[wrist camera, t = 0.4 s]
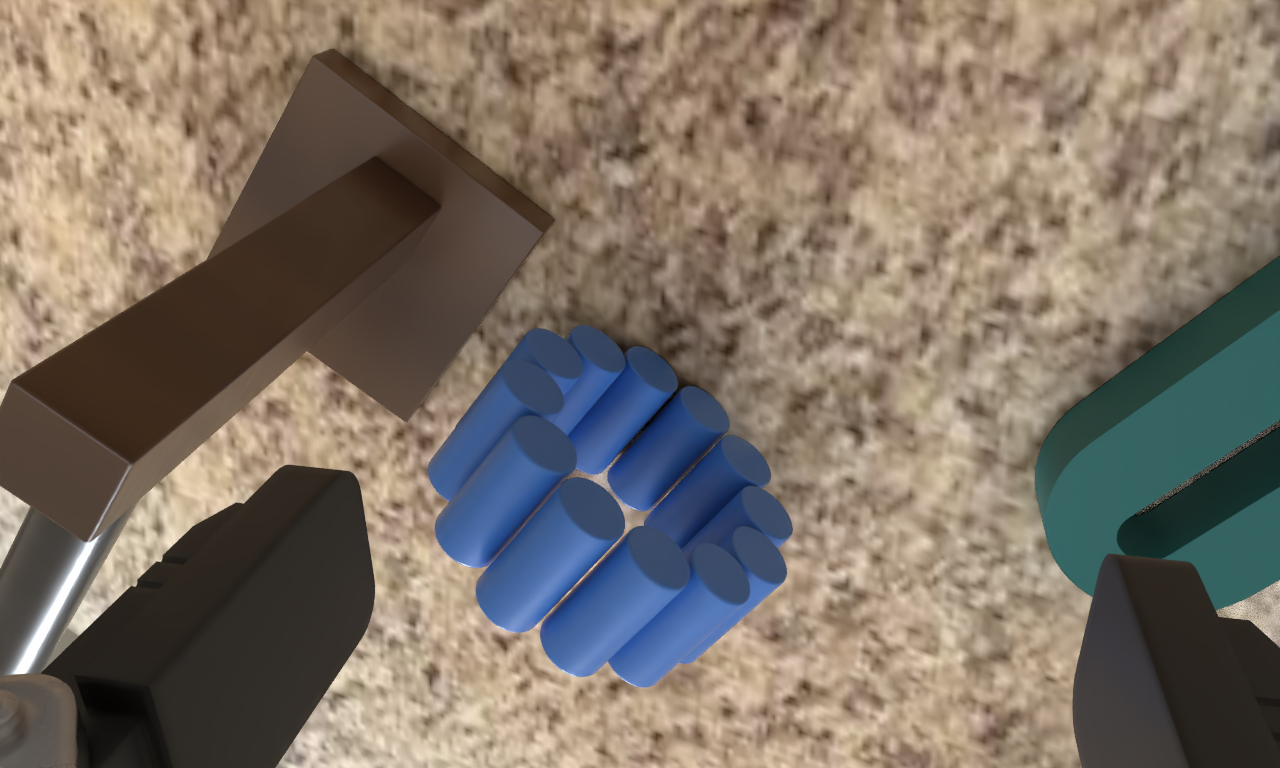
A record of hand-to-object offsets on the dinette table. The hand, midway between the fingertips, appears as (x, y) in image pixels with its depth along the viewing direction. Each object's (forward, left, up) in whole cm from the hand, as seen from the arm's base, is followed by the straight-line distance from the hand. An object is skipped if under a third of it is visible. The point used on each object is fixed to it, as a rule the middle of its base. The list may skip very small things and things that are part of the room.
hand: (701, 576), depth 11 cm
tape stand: (+7, -15, -19) cm, 25 cm away
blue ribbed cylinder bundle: (+9, -4, -19) cm, 22 cm away
